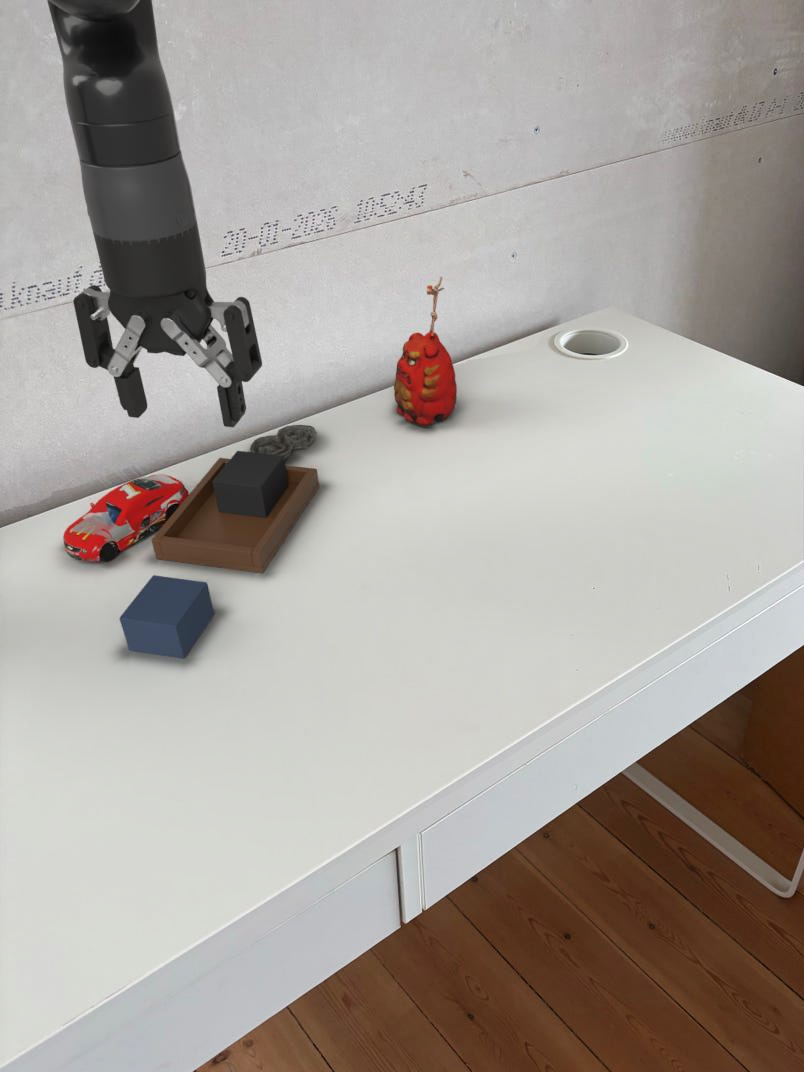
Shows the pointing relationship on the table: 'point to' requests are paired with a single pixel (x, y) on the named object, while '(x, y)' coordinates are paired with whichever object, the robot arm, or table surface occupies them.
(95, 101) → the robot arm
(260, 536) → the brown tray
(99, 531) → the race car
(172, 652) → the blue block
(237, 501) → the black block
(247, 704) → the table surface
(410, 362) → the red clay folk toy
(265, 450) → the corroded twin loop
